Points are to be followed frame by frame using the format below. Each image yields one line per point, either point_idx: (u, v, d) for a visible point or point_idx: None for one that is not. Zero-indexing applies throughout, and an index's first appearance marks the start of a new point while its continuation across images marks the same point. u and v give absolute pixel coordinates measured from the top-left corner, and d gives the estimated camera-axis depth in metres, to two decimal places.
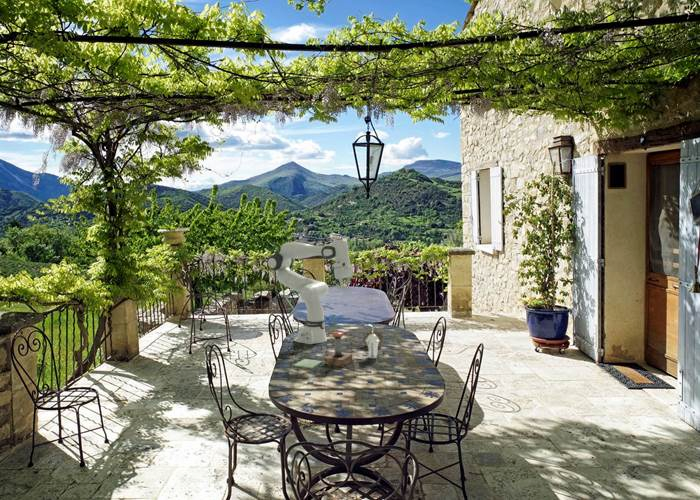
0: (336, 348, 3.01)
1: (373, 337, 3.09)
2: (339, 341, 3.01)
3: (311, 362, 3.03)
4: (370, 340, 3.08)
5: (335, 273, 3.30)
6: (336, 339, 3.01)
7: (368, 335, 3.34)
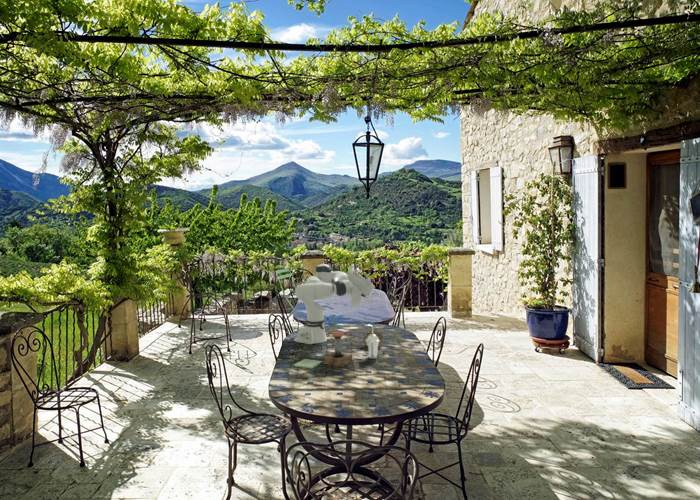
0: (336, 348, 3.01)
1: (373, 337, 3.09)
2: (339, 341, 3.01)
3: (311, 362, 3.03)
4: (370, 340, 3.08)
5: (373, 290, 3.30)
6: (336, 339, 3.01)
7: (368, 335, 3.34)
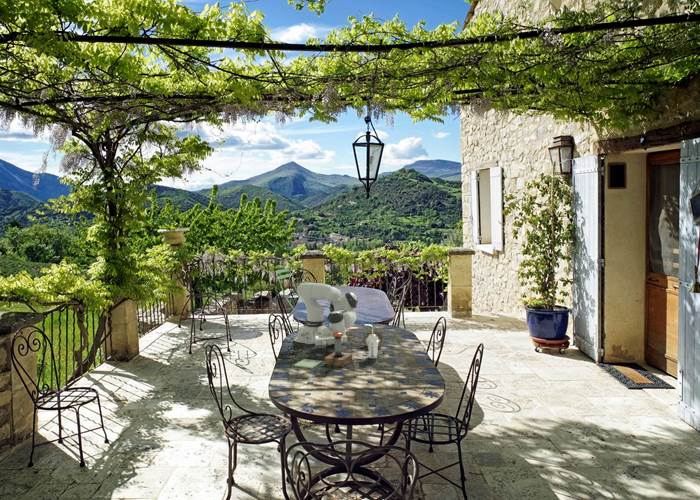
0: (336, 348, 3.01)
1: (373, 337, 3.09)
2: (339, 341, 3.01)
3: (311, 362, 3.03)
4: (370, 340, 3.08)
5: None
6: (336, 339, 3.01)
7: (368, 335, 3.34)
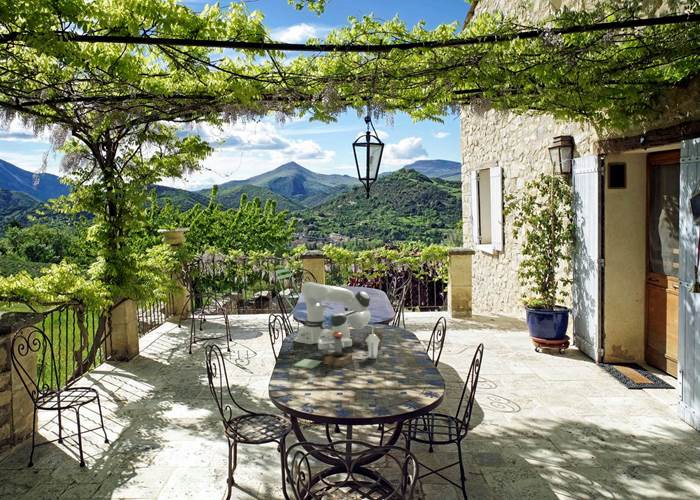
0: (336, 348, 3.01)
1: (373, 337, 3.09)
2: (339, 341, 3.01)
3: (311, 362, 3.03)
4: (370, 340, 3.08)
5: (318, 347, 3.07)
6: (336, 339, 3.01)
7: (368, 335, 3.34)
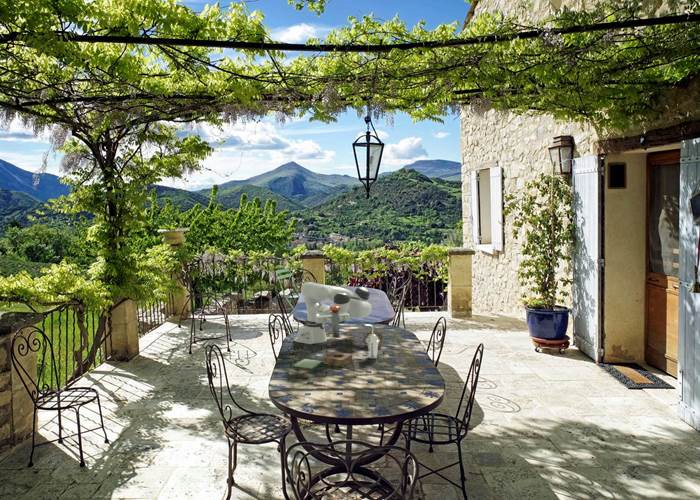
0: (333, 322, 3.00)
1: (373, 337, 3.09)
2: (336, 315, 2.99)
3: (311, 362, 3.03)
4: (370, 340, 3.08)
5: None
6: (333, 313, 2.99)
7: (368, 335, 3.34)
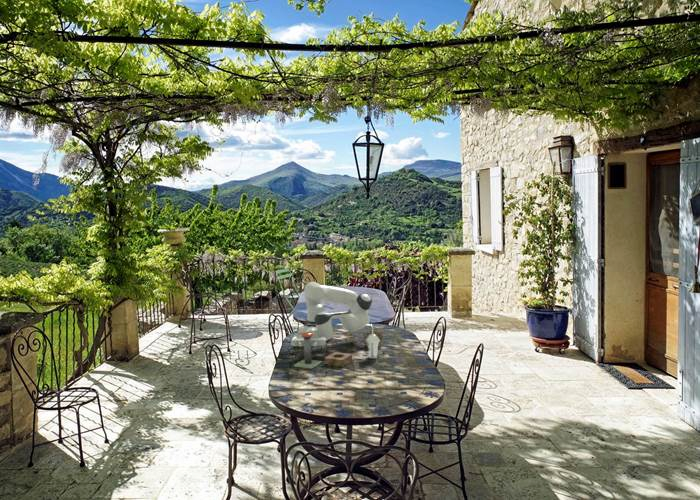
0: (304, 348, 3.00)
1: (373, 337, 3.09)
2: (307, 341, 2.99)
3: None
4: (370, 340, 3.08)
5: None
6: (304, 339, 2.99)
7: (368, 335, 3.34)
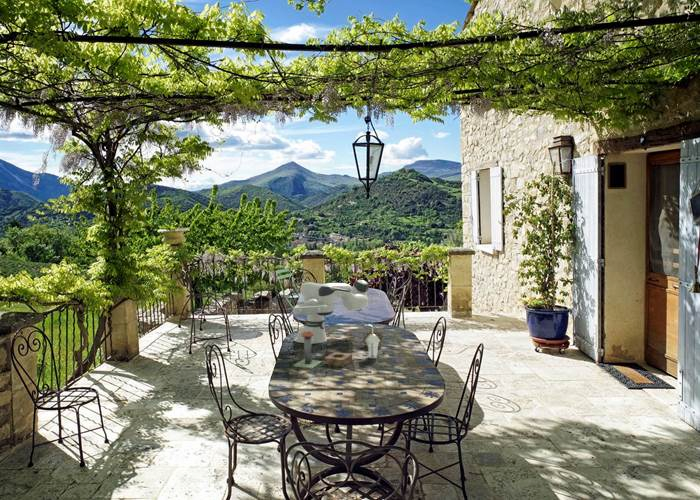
0: (305, 348, 3.00)
1: (373, 337, 3.09)
2: (308, 341, 2.99)
3: None
4: (370, 340, 3.08)
5: None
6: (305, 339, 3.00)
7: (368, 335, 3.34)
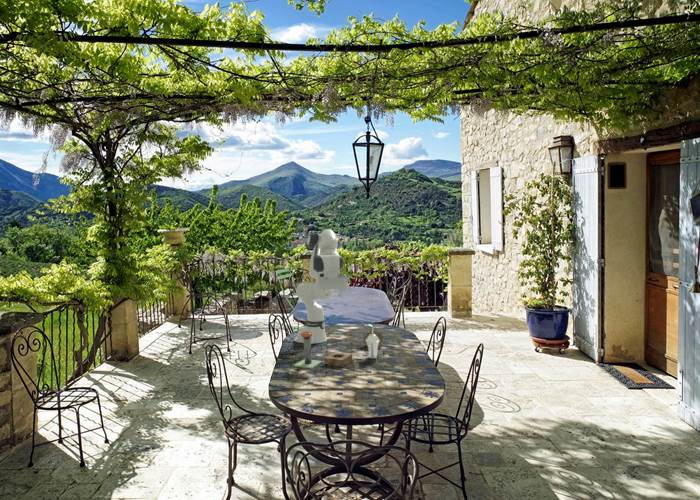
0: (304, 348, 3.00)
1: (373, 337, 3.09)
2: (307, 341, 2.99)
3: None
4: (370, 340, 3.08)
5: None
6: (304, 339, 3.00)
7: (368, 335, 3.34)
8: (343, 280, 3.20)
